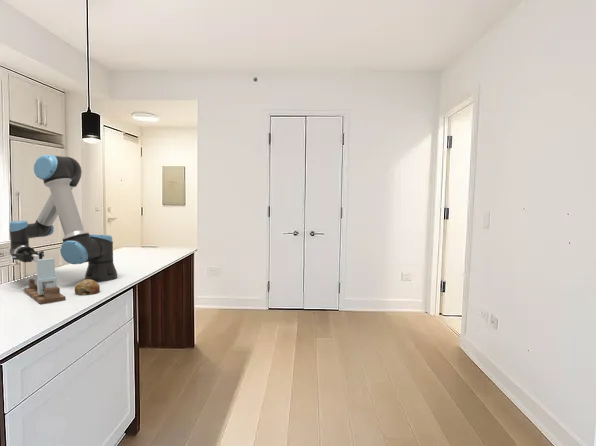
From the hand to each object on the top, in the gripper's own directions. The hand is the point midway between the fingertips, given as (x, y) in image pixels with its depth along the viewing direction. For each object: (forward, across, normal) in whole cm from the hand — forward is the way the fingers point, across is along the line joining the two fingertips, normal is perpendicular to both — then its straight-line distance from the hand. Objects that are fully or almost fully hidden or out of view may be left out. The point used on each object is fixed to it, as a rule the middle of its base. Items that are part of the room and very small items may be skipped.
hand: (37, 258), depth 176 cm
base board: (+8, 0, -15) cm, 17 cm away
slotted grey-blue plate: (+14, 0, -13) cm, 19 cm away
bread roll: (+15, -15, -16) cm, 27 cm away
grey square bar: (+8, 0, -11) cm, 14 cm away
